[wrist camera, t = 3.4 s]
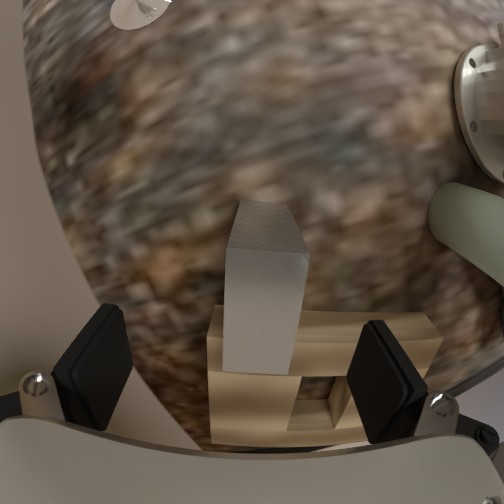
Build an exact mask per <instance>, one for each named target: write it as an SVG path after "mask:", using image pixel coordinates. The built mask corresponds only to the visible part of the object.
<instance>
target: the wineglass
mask: <svg viewBox="0 0 504 504" xmlns="http://www.w3.org/2000/svg"><path fill="white" fill-rule="evenodd" d="M170 2H171V0H115V2H114V3H113V5H112V7H111V11H110V18H111V22H112V23H113V24H114V26H115V27H117V28H119V29H122V30H133V29H138V28H141V27H143V26H146V25H148V24H150V23H151V22H153V21H154V20H156V19H157V18H159V17H160V16H161V15H162V14H163V12H164V11H165V10H166V9H167V7H168V5H169V4H170Z"/></svg>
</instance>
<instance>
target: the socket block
mask: <svg viewBox="0 0 504 504" xmlns="http://www.w3.org/2000/svg"><path fill="white" fill-rule="evenodd" d="M369 320H383V321H384V322H385V323H386V325H387V326H388V327H389V329H390V330H391V332H392V333H393V335H394V336H395V338H396V339H397V341H398V342H399V344H400V345H401V346H402V348H403V349H404V351H405V352H406V354H407V356H408V357H409V359H410V360H411V362H412V363H413V365H414V366H415V368H416V369H417V371H418V372H419V374H420V376H421V377H422V379H423V378H424V376H425V374H426V372H427V371H428V369H429V367H430V365H431V363H432V361H433V359H434V357H435V355H436V353H437V351H438V349H439V347H440V345H441V343H442V341H443V339H444V337H443V336H442V335H441V333H440V332H439V331H438V330H437V328H436V327H435V326H434V325H433V323H432V322H431V321H430V320H429V318H428V317H427V316H426V315H425V314H424V312H335V311H307V310H301V313H300V318H299V323H298V328H297V333H296V338H295V343H294V348H293V353H292V358H291V362H290V367H289V371H288V375H281V374H258V373H242V372H230V371H223V327H224V305H216V304H215V305H214V309H213V313H212V317H211V321H210V326H209V330H208V334H207V365H208V391H209V412H210V429H211V443H214V444H223V445H236V446H253V447H307V446H324V445H336V444H346V443H354V442H362V441H368V439H367V436H366V433H365V430H364V427H363V424H362V422H361V419H360V416H359V413H358V410H357V408H356V405H355V402H354V399H353V397H352V394H351V391H350V388H349V386H348V383H347V379H346V376H347V372H348V369H349V366H350V363H351V361H352V358H353V355H354V352H355V349H356V346H357V343H358V340H359V337H360V334H361V331H362V328H363V325H364V324H367V322H368V321H369ZM302 376H337V377H336V379H335V382H334V385H333V387H332V390H331V392H330V395H329V397H328V399H306V400H296V396H297V393H298V389H299V386H300V382H301V378H302Z"/></svg>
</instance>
